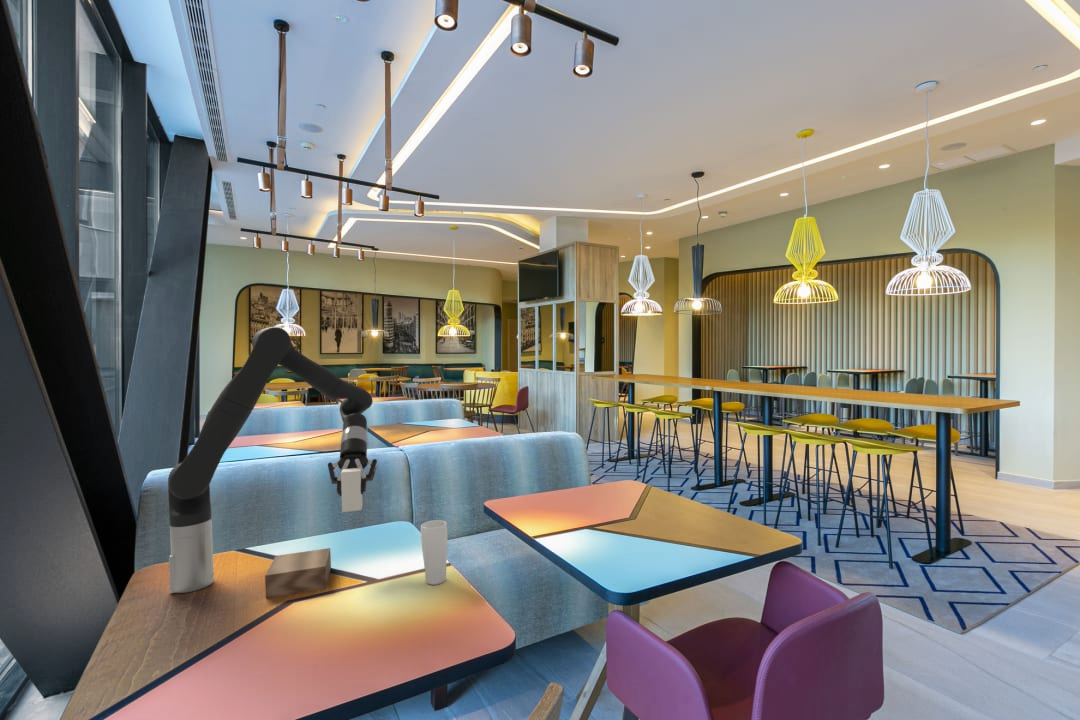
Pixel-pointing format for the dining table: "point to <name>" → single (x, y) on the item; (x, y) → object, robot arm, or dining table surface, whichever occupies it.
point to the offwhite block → (351, 489)
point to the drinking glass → (434, 550)
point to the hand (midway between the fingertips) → (351, 493)
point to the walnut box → (298, 572)
